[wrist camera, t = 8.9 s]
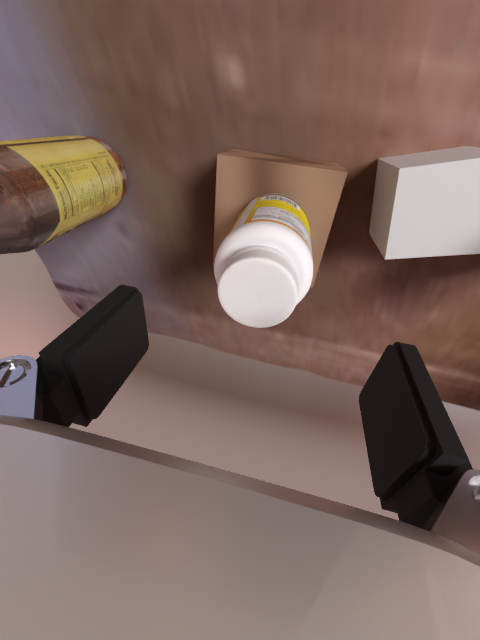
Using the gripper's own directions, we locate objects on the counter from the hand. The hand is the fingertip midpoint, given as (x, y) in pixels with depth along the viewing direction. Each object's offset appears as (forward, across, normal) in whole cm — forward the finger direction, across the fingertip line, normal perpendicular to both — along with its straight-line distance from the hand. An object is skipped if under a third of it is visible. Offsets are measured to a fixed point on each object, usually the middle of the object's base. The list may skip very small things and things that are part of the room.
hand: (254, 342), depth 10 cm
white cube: (+19, -10, -3) cm, 22 cm away
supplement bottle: (+14, +1, 0) cm, 14 cm away
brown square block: (+18, +1, 0) cm, 19 cm away
